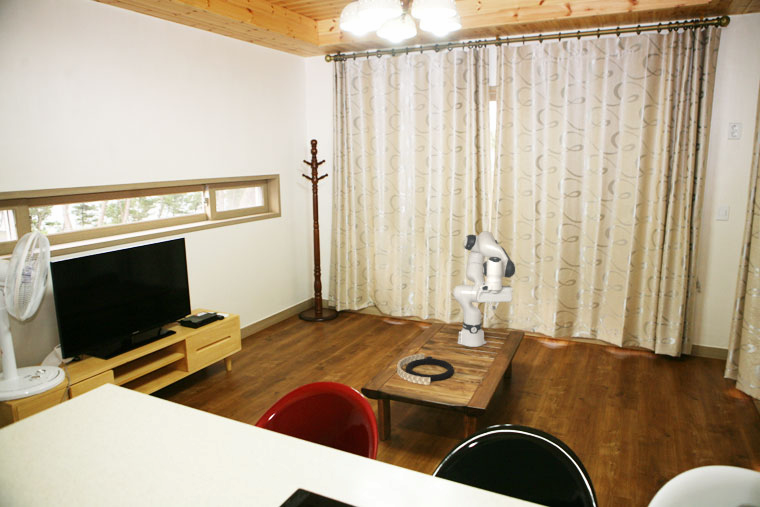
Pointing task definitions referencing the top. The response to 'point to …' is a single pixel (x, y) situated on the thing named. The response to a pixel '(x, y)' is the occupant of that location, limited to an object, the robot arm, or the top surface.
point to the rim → (408, 376)
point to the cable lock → (433, 362)
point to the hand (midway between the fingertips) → (493, 309)
